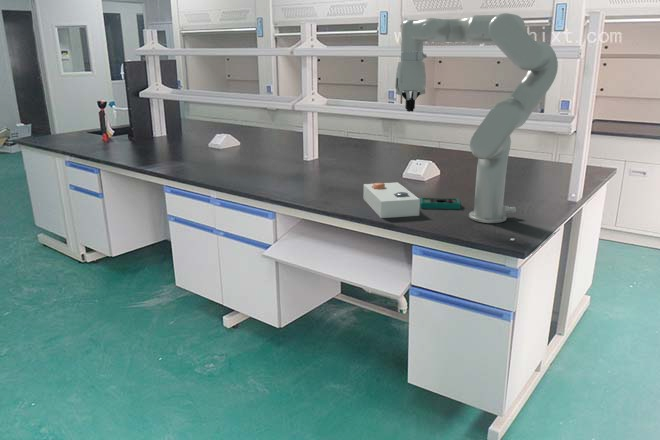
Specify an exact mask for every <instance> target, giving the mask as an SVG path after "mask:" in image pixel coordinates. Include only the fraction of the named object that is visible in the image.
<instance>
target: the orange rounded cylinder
mask: <svg viewBox="0 0 660 440" xmlns="http://www.w3.org/2000/svg"><path fill="white" fill-rule="evenodd" d="M384 183H385V182H384ZM384 183H383V182H375V183H372V184H373V189H385V184H384Z"/></svg>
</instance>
